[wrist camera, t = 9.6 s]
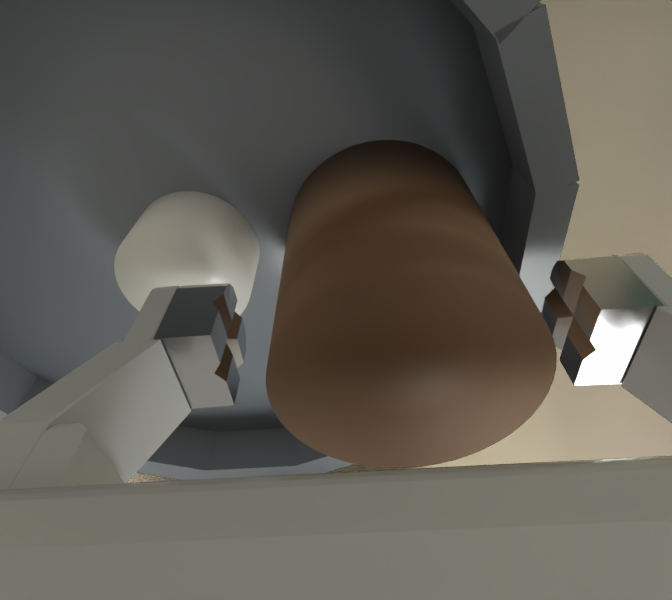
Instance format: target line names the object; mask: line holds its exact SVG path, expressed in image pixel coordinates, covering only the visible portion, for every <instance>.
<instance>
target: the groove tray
mask: <svg viewBox="0 0 672 600" xmlns="http://www.w3.org/2000/svg"><path fill="white" fill-rule="evenodd" d="M540 1H541V0H0V420H1V419H2V418H4V417H5V416H7V415H8V414H10V413H11V412H13V411H14V410H15V409H17V408H18V407H20V406H21V405H23V404H24V403H26V402H27V401H29V400H30V399H32V398H33V397H35V396H36V395H38V394H39V393H41V392H42V391H44V390H45V389H47V388H48V387H50V386H51V385H53V384H54V383H56V382H57V381H59V380H60V379H61V378H63V377H64V376H66V375H67V374H69V373H70V372H72V371H73V370H75V369H76V368H78V367H79V366H81V365H82V364H84V363H85V362H87V361H88V360H90V359H91V358H93V357H94V356H96V355H97V354H99V353H100V352H102V351H103V350H105V349H106V348H107V347H109V346H110V345H112V344H113V343H115V342H123V341H124V339H125V337H126V335H127V334H128V332H129V330H130V328H131V326H132V324H133V323H134V321H135V319H136V317H137V315H138V313H139V312H140V310H141V308H142V306H143V304H144V302H145V301H146V299H147V297H148V295H149V293H150V291H151V290H152V289H155V288H157V287H169V286H186V285H206V284H226V283H230V284H231V285H232V286H233V288H234V291H235V294H236V297H237V304H236V308H235V312H236V313H237V314H238V315H240V316H241V317H242V319H243V322H244V326H245V333H246V354H245V359H244V363H242V364H241V365H240V366H239V367H238V368H237V370H238V373H239V377H240V382H239V386H238V391H237V395H236V400H235V404H234V405H230V406H218V407H206V408H195V409H191V412H190V413H189V414H188V415H187V417H186V418H185V419H184V420H183V421H182V422H181V423H180V424H179V426H178V427H177V428H176V429H175V430H174V431H173V432H172V433H171V434H170V436H169V437H168V438H167V439H166V440H165V441H164V442H163V443H162V445H161V446H160V447H159V448H158V449H157V450H156V451H155V452H154V454H153V455H152V456H151V457H150V458H149V459H148V460H147V461H146V463H145V464H144V465H143V466H142V467H141V468H140V469H139V470H138V471H137V473H142V474H148V475H154V476H161V477H167V478H173V479H179V480H197V479H217V478H237V477H257V476H277V475H298V474H318V473H326V472H330V471H333V470H336V469H340V468H343V467H347V466H350V465H353V463H349V462H345V461H341V460H338V459H335V458H332V457H330V456H327V455H325V454H322V453H320V452H318V451H316V450H314V449H312V448H311V447H309V446H307V445H306V444H304V443H303V442H301V441H300V440H298V439H297V438H296V437H295V436H293V435H292V434H291V433H290V432H289V431H288V430H287V429H286V428H285V427H284V426H283V424H282V423H281V422H280V421H279V419H278V418H277V416H276V414H275V413H274V411H273V409H272V407H271V404H270V402H269V399H268V395H267V390H266V368H267V362H268V355H269V349H270V343H271V336H272V330H273V324H274V317H275V311H276V304H277V298H278V292H279V285H280V279H281V273H282V266H283V260H284V253H285V247H286V241H287V234H288V228H289V222H290V216H291V211H292V206H293V204H294V201H295V198H296V196H297V194H298V192H299V190H300V188H301V186H302V185H303V183H304V182H305V181H306V179H307V178H308V176H309V175H310V174H311V173H312V172H313V171H314V170H315V169H316V168H317V167H318V166H319V165H320V164H322V163H323V162H324V161H325V160H327V159H328V158H329V157H331V156H333V155H334V154H336V153H338V152H339V151H342V150H344V149H346V148H349V147H351V146H354V145H357V144H361V143H364V142H370V141H376V140H399V141H407V142H411V143H415V144H419V145H421V146H424V147H426V148H429V149H431V150H433V151H434V152H436V153H438V154H439V155H441V156H443V157H444V158H445V159H446V160H447V161H449V162H450V163H451V164H452V165H453V166H454V167H455V168H456V169H457V170H458V172H459V173H460V174H461V176H462V177H463V179H464V180H465V182H466V184H467V185H468V187H469V189H470V191H471V192H472V194H473V196H474V198H475V199H476V201H477V203H478V205H479V206H480V208H481V210H482V212H483V213H484V215H485V217H486V218H487V220H488V222H489V224H490V225H491V227H492V229H493V231H494V232H495V234H496V236H497V238H498V239H499V241H500V243H501V245H502V246H503V248H504V250H505V252H506V253H507V255H508V257H509V259H510V260H511V262H512V264H513V266H514V267H515V269H516V271H517V273H518V274H519V276H520V278H521V280H522V281H523V283H524V285H525V286H526V288H527V290H528V292H529V293H530V295H531V297H532V299H533V300H534V302H535V304H536V306H537V307H538V309H539V311H540V313H541V314H542V309H543V304H544V300H545V297H546V296H547V295H548V294H549V293H550V292H551V290H552V286H553V283H552V282H551V280H550V276H551V272H552V268H553V266H554V265H555V263H556V262H557V261H559V260H560V256H561V252H562V248H563V244H564V241H565V237H566V233H567V229H568V225H569V221H570V218H571V214H572V210H573V206H574V202H575V199H576V195H577V191H578V187H579V184H578V183H577V182H576V181H579V176H578V171H577V166H576V161H575V155H574V150H573V145H572V140H571V135H570V129H569V124H568V119H567V114H566V109H565V103H564V98H563V93H562V88H561V83H560V78H559V72H558V67H557V62H556V57H555V52H554V46H553V41H552V36H551V31H550V26H549V20H548V15H547V10H546V5H545V4H541V3H539V2H540Z"/></svg>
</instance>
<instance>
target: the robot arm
mask: <svg viewBox="0 0 672 600" xmlns="http://www.w3.org/2000/svg"><path fill="white" fill-rule="evenodd" d="M550 280H551V282H552V283H553V285H554V286H555V288H554V289H553V290H552V291H551V292H550V293H549V294H548V295H547V296H546V297H545V300H544V304H543V309H542V316H543V318H544V320H545V321H546V323H547V325H548V327H549V329H550V331H551V334H552V336H553V339H554V343H555V346H556V347H558V348H559V349H561V350H562V353H561V357H560V361H561V363H562V365H563V367H564V368H565V370H566V372H567V374H568V375H569V377H570V379H571V381H572V383H573V384H574V386H576V385H607V384H622V387H623V388H625V389H626V390H627V391H629V392H630V393H631V394H633V395H634V396H636V397H637V398H638V399H640V400H641V401H642V402H644V403H645V404H647V405H648V406H649V407H651V408H652V409H653V410H655V411H656V412H657V413H659V414H660V415H662V416H663V417H664V418H666V419H667V420H668V421H670V422H671V423H672V278H671V277H670V276H669V275H667V274H666V273H665V272H664V271H663V270H662V269H661V268H660V267H659V266H658V265H657V264H656V263H655V262H654V261H653V260H652V259H651V258H650V257H649V256H648V255H645V254H642V253H632V254H623V255H613V256H608V257H596V258H584V259H573V260H561V261H557V262H556V263H555V265H554V266H553V268H552V272H551V276H550ZM236 304H237V297H236V294H235V291H234V288H233V286H232V285H231V284H230V283H226V284H206V285H186V286H169V287H157V288H155V289H152V290H151V291H150V293H149V295H148V297H147V299H146V301H145V302H144V304H143V306H142V308H141V310H140V312H139V313H138V315H137V317H136V319H135V321H134V323H133V324H132V326H131V328H130V330H129V332H128V334H127V335H126V337H125V339H124V341H123V342H115V343H113V344H112V345H110V346H109V347H107V348H106V349H105V350H103V351H102V352H100V353H99V354H97V355H96V356H94V357H93V358H91V359H90V360H88V361H87V362H85V363H84V364H82V365H81V366H79V367H78V368H76V369H75V370H73V371H72V372H70V373H69V374H67V375H66V376H64V377H63V378H61V379H60V380H59V381H57V382H56V383H54V384H53V385H51V386H50V387H48V388H47V389H45V390H44V391H42V392H41V393H39V394H38V395H36V396H35V397H33V398H32V399H30V400H29V401H27V402H26V403H24V404H23V405H21V406H20V407H18V408H17V409H15V410H14V411H13V412H11V413H10V414H8V415H7V416H5V417H4V418H2V419H1V420H0V600H672V456H658V457H638V458H618V459H598V460H578V461H558V462H538V463H518V464H498V465H478V466H458V467H438V468H418V469H398V470H378V471H358V472H338V473H318V474H298V475H277V476H257V477H237V478H217V479H197V480H177V481H157V482H138V483H128V482H129V480H130V479H131V478H132V477H133V476H134V475H135V474H136V473H137V471H138V470H139V469H140V468H141V467H142V466H143V465H144V464H145V463H146V461H147V460H148V459H149V458H150V457H151V456H152V455H153V454H154V452H155V451H156V450H157V449H158V448H159V447H160V446H161V445H162V443H163V442H164V441H165V440H166V439H167V438H168V437H169V436H170V434H171V433H172V432H173V431H174V430H175V429H176V428H177V427H178V426H179V424H180V423H181V422H182V421H183V420H184V419H185V418H186V417H187V415H188V414H189V413H190V412H191V409H195V408H206V407H218V406H230V405H234V404H235V400H236V395H237V391H238V386H239V382H240V377H239V373H238V370H237V368H238V367H239V366H240V365H241V364H242V363H244V359H245V354H246V333H245V326H244V322H243V319H242V317H241V316H240V315H238V314H237V313H236V312H235V308H236Z"/></svg>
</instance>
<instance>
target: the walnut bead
mask: <svg viewBox="0 0 672 600" xmlns="http://www.w3.org/2000/svg"><path fill="white" fill-rule="evenodd" d="M555 370H556V348H555V343H554V339H553V336H552V334H551V331H550V329H549V327H548V325H547V323H546V321H545V320H544V318H543V316H542V314H541V313H540V311H539V309H538V307H537V306H536V304H535V302H534V300H533V299H532V297H531V295H530V293H529V292H528V290H527V288H526V286H525V285H524V283H523V281H522V280H521V278H520V276H519V274H518V273H517V271H516V269H515V267H514V266H513V264H512V262H511V260H510V259H509V257H508V255H507V253H506V252H505V250H504V248H503V246H502V245H501V243H500V241H499V239H498V238H497V236H496V234H495V232H494V231H493V229H492V227H491V225H490V224H489V222H488V220H487V218H486V217H485V215H484V213H483V212H482V210H481V208H480V206H479V205H478V203H477V201H476V199H475V198H474V196H473V194H472V192H471V191H470V189H469V187H468V185H467V184H466V182H465V180H464V179H463V177H462V176H461V174H460V173H459V172H458V170H457V169H456V168H455V167H454V166H453V165H452V164H451V163H450V162H449V161H447V160H446V159H445V158H444V157H443V156H441V155H439V154H438V153H436V152H434V151H433V150H431V149H429V148H426V147H424V146H421V145H419V144H415V143H411V142H407V141H399V140H376V141H370V142H364V143H361V144H357V145H354V146H351V147H349V148H346V149H344V150H342V151H339V152H338V153H336V154H334V155H333V156H331V157H329V158H328V159H327V160H325V161H324V162H323V163H322V164H320V165H319V166H318V167H317V168H316V169H315V170H314V171H313V172H312V173H311V174H310V175H309V176H308V178H307V179H306V181H305V182H304V183H303V185H302V186H301V188H300V190H299V192H298V194H297V196H296V198H295V201H294V204H293V206H292V211H291V216H290V222H289V228H288V234H287V241H286V247H285V253H284V260H283V266H282V273H281V279H280V285H279V292H278V298H277V304H276V311H275V317H274V324H273V330H272V336H271V343H270V349H269V355H268V362H267V368H266V390H267V395H268V399H269V402H270V404H271V407H272V409H273V411H274V413H275V414H276V416H277V418H278V419H279V421H280V422H281V423H282V424H283V426H284V427H285V428H286V429H287V430H288V431H289V432H290V433H291V434H292V435H293V436H295V437H296V438H297V439H298V440H300V441H301V442H303V443H304V444H306V445H307V446H309V447H311V448H312V449H314V450H316V451H318V452H320V453H322V454H325V455H327V456H330V457H332V458H335V459H338V460H341V461H345V462H349V463H353V464H358V465H363V466H371V467H381V468H410V467H422V466H428V465H434V464H440V463H444V462H448V461H452V460H456V459H459V458H462V457H465V456H468V455H471V454H473V453H476V452H478V451H480V450H483V449H485V448H487V447H489V446H491V445H493V444H495V443H497V442H498V441H500V440H501V439H503V438H505V437H506V436H508V435H509V434H511V433H512V432H513V431H515V430H516V429H517V428H519V427H520V426H521V425H522V424H523V423H524V422H525V421H526V420H527V419H529V418H530V417H531V416H532V415H533V413H534V412H535V411H536V410H537V408H538V407H539V406H540V405H541V403H542V402H543V400H544V398H545V397H546V395H547V393H548V392H549V389H550V387H551V384H552V382H553V379H554V375H555Z"/></svg>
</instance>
